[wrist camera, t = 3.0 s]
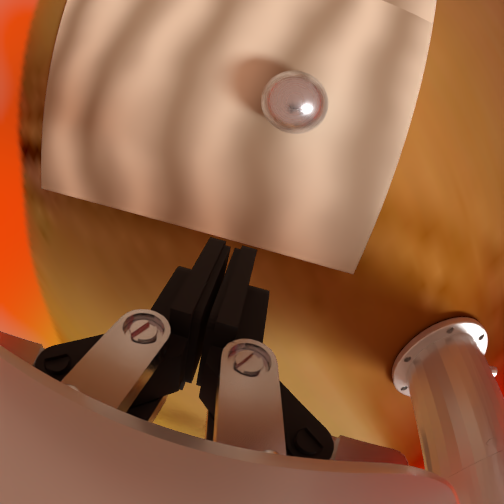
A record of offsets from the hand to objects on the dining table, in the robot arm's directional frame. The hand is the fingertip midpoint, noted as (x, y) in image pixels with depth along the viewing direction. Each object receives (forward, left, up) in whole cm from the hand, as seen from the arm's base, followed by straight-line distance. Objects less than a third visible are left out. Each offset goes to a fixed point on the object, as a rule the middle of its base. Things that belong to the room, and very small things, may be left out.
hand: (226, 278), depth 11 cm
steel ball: (-1, -7, -9) cm, 12 cm away
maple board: (+6, -12, -13) cm, 19 cm away
